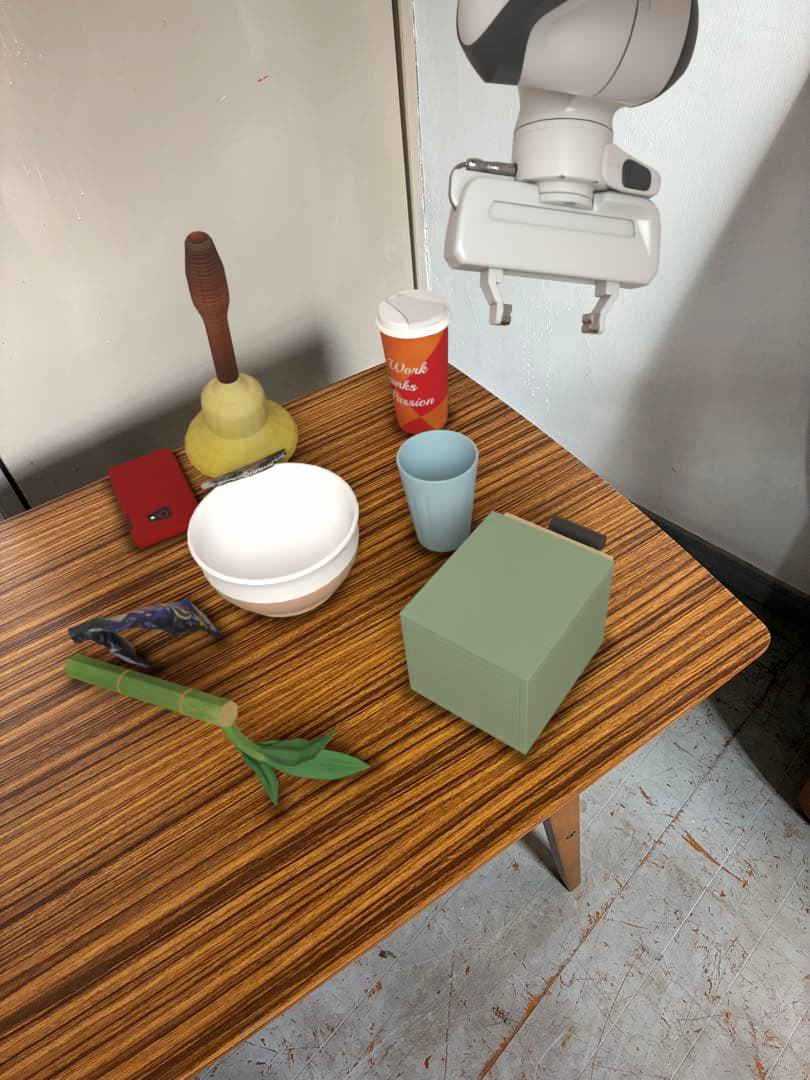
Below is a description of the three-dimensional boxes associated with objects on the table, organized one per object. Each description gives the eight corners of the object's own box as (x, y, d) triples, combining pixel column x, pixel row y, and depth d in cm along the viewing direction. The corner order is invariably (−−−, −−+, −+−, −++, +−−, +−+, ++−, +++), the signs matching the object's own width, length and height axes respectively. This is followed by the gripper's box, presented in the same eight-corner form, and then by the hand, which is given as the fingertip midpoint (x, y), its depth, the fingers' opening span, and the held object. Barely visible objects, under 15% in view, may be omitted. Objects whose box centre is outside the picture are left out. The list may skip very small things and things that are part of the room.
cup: (447, 572, 77) (441, 493, 70) (390, 538, 81) (379, 460, 74) (495, 529, 81) (494, 449, 74) (439, 498, 85) (432, 420, 78)
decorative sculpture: (303, 441, 93) (225, 472, 93) (301, 437, 92) (223, 468, 93) (276, 465, 73) (179, 505, 74) (274, 460, 73) (176, 500, 74)
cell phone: (105, 467, 92) (108, 474, 93) (134, 544, 83) (137, 550, 83) (169, 444, 94) (172, 451, 95) (205, 516, 85) (207, 523, 85)
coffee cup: (374, 421, 96) (357, 309, 85) (423, 391, 99) (413, 279, 88) (422, 450, 91) (411, 335, 80) (472, 417, 94) (467, 302, 84)
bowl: (223, 661, 72) (199, 605, 66) (198, 545, 83) (176, 488, 77) (390, 607, 75) (380, 549, 69) (344, 501, 86) (333, 444, 80)
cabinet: (493, 589, 75) (492, 510, 68) (603, 641, 70) (615, 561, 63) (410, 689, 68) (399, 613, 61) (525, 755, 63) (528, 681, 56)
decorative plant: (97, 623, 74) (364, 695, 58) (130, 689, 78) (387, 771, 63) (44, 666, 69) (317, 755, 54) (82, 733, 74) (345, 833, 58)
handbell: (196, 494, 82) (133, 298, 61) (174, 411, 88) (111, 208, 68) (311, 466, 84) (288, 268, 64) (282, 386, 91) (253, 183, 70)
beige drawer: (530, 547, 78) (532, 481, 71) (627, 590, 73) (638, 522, 67) (430, 668, 69) (422, 604, 63) (533, 725, 64) (536, 662, 58)
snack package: (100, 616, 77) (219, 591, 78) (109, 682, 76) (230, 656, 76) (46, 599, 65) (187, 570, 66) (56, 677, 64) (199, 646, 65)
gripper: (463, 143, 65) (452, 316, 68) (677, 177, 71) (660, 335, 73) (439, 164, 71) (429, 322, 74) (638, 194, 77) (624, 340, 79)
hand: (546, 329), depth 74 cm, fingers open, 8 cm apart
